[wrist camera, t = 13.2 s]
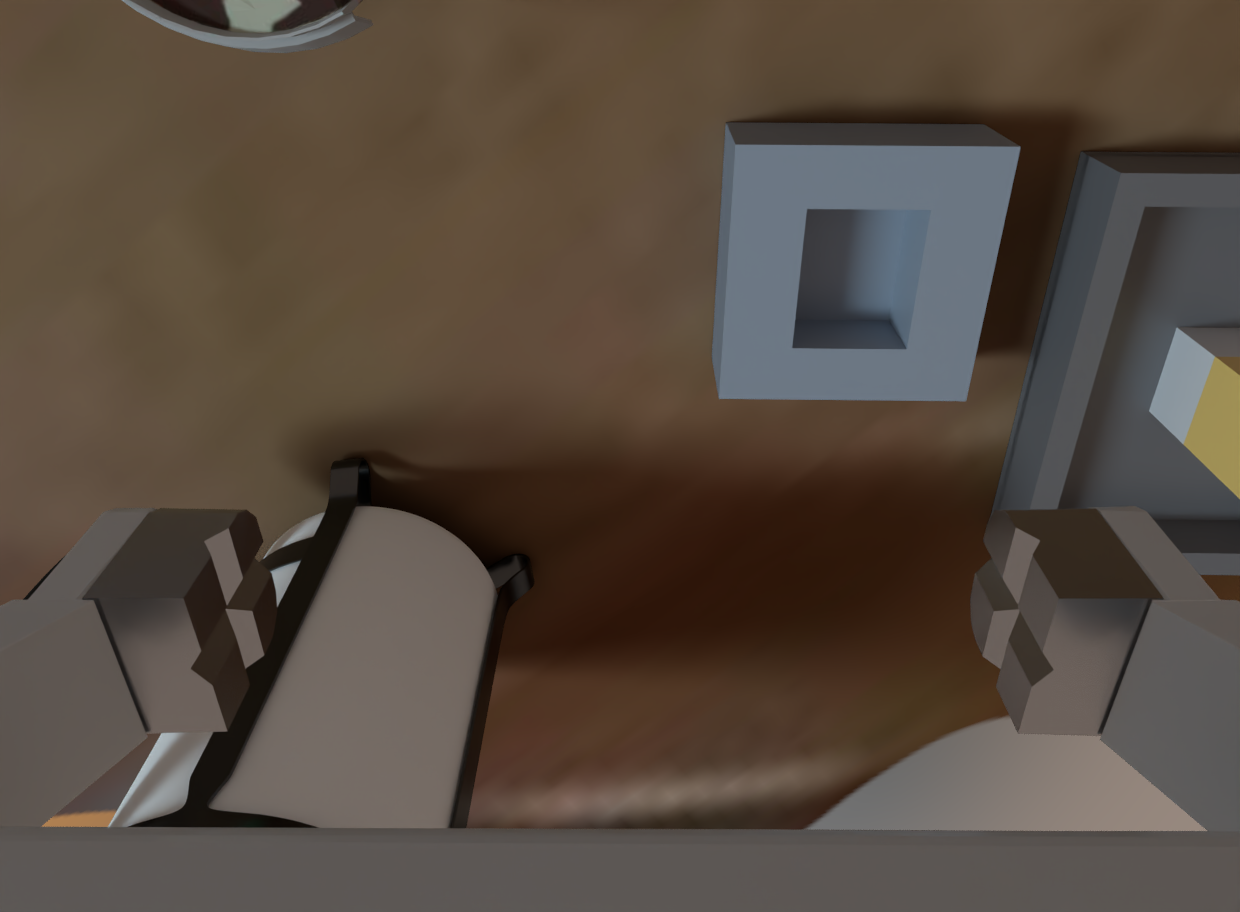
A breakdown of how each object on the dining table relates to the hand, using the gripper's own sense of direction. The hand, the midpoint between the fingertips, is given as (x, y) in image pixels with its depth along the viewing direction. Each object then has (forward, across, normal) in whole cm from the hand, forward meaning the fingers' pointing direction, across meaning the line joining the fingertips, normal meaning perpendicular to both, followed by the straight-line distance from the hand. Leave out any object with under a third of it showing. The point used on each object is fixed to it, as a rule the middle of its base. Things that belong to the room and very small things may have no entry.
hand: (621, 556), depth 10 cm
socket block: (+29, -9, +6) cm, 31 cm away
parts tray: (+29, -25, +12) cm, 40 cm away
